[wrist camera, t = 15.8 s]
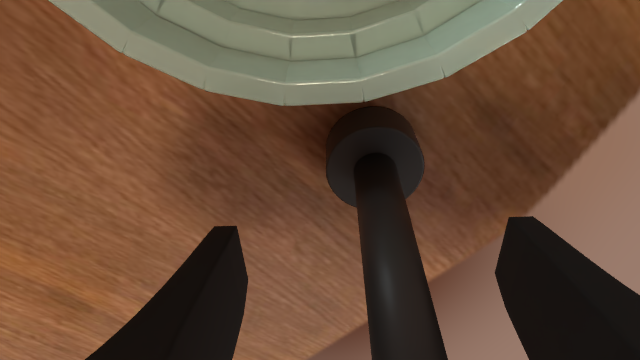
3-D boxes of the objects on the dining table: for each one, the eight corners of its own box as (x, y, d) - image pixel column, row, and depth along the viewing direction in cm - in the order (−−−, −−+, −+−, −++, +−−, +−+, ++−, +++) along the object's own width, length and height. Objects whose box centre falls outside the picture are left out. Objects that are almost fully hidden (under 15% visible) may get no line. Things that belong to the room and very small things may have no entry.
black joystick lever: (419, 103, 14) (543, 369, 6) (413, 182, 16) (501, 469, 8) (323, 108, 14) (318, 373, 6) (328, 186, 16) (329, 470, 8)
